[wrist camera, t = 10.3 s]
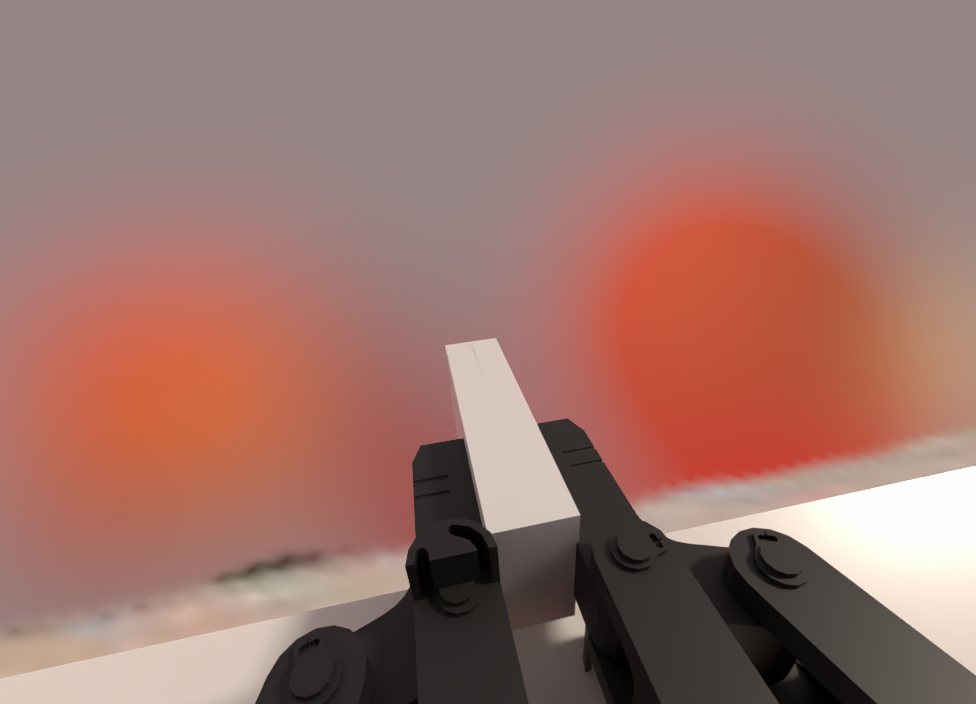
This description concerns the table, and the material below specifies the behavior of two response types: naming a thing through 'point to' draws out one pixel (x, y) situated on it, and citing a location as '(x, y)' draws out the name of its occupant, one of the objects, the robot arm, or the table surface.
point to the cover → (559, 643)
